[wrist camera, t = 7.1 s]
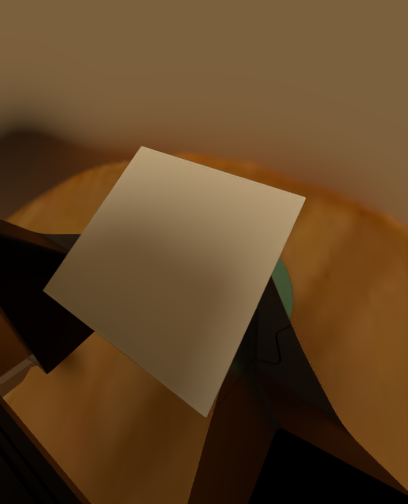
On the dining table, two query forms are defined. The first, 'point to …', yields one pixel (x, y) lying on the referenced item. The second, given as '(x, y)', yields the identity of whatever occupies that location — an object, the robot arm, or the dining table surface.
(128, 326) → the cream block
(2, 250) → the robot arm
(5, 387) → the lighter
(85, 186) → the dining table surface
